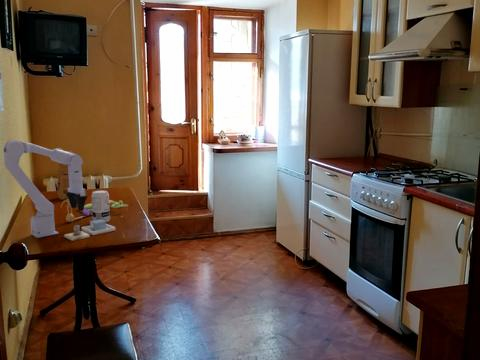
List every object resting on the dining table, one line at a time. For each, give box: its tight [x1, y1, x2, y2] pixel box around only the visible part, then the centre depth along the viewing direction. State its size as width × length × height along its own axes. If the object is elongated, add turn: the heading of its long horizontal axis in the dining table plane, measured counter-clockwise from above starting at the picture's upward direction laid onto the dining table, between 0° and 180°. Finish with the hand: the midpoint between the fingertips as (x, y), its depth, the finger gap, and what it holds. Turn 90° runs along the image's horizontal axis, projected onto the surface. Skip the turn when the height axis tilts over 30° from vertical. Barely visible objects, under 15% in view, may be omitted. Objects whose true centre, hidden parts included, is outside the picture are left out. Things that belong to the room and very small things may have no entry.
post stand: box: [63, 224, 91, 242], centre depth 200 cm, size 8×8×5 cm
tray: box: [81, 223, 116, 236], centre depth 210 cm, size 11×11×2 cm
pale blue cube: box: [89, 219, 107, 231], centre depth 209 cm, size 5×6×4 cm
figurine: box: [60, 199, 75, 223], centre depth 225 cm, size 8×6×12 cm
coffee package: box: [56, 162, 69, 201], centre depth 280 cm, size 10×12×22 cm
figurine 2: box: [76, 199, 129, 216], centre depth 248 cm, size 18×27×6 cm
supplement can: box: [90, 190, 111, 223], centre depth 225 cm, size 8×8×15 cm
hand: (77, 209), depth 211 cm, fingers open, 7 cm apart
